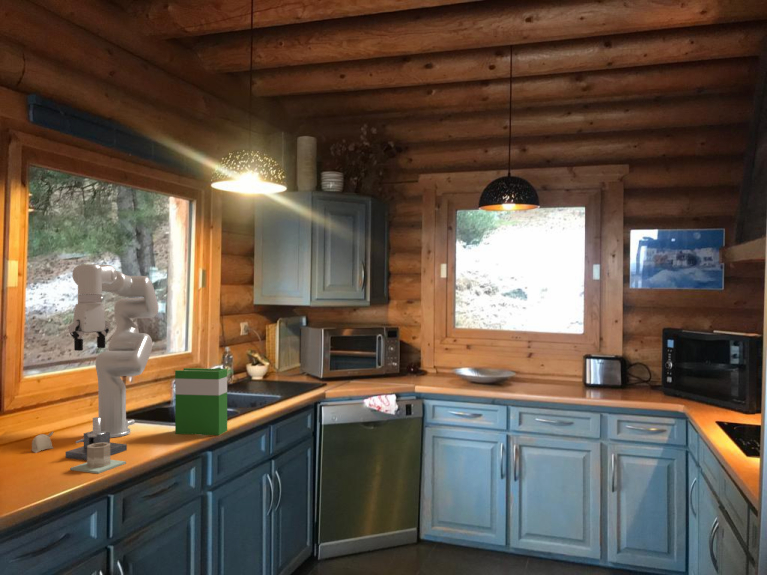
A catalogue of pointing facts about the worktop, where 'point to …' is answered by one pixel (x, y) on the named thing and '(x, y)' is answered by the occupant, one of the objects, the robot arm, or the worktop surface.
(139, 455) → the worktop surface
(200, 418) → the green banded box
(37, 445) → the decorative ornament
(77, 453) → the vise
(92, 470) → the mat
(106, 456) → the hollow octagonal tube
